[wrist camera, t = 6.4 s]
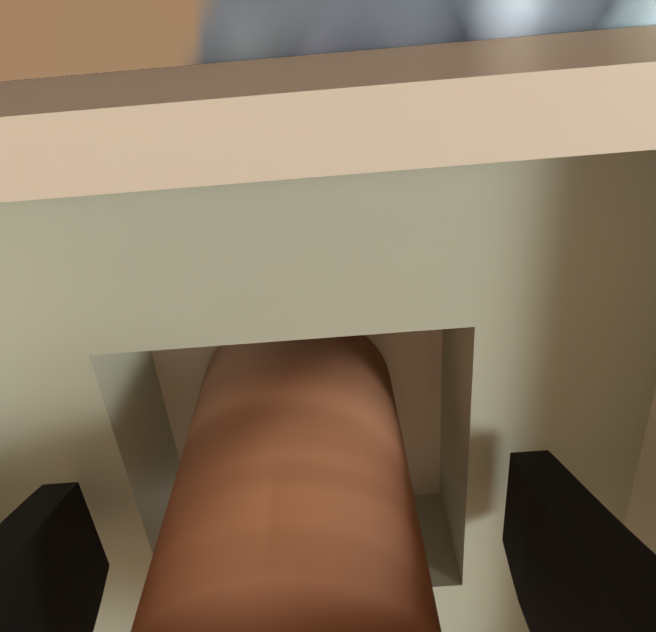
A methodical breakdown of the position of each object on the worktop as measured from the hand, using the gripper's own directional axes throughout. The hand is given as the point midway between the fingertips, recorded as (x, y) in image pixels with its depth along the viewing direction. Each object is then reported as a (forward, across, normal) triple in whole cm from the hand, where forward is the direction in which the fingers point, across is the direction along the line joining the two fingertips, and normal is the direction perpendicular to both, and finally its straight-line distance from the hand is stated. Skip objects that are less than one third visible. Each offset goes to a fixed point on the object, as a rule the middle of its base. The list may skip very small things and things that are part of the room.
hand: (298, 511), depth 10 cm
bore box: (+4, 0, 0) cm, 4 cm away
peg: (+3, 0, 0) cm, 3 cm away
